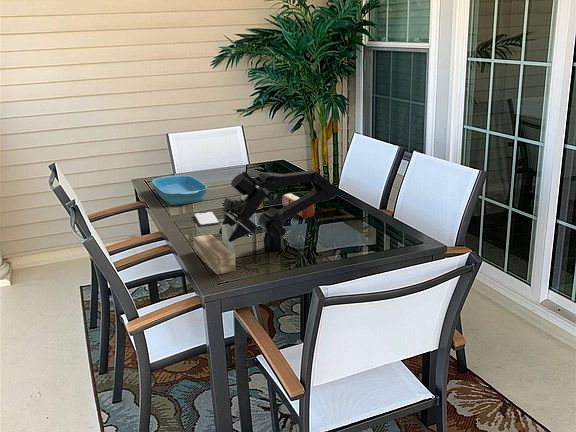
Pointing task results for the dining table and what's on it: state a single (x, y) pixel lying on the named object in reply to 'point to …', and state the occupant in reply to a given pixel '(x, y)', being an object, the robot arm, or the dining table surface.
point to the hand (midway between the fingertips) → (224, 237)
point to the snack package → (290, 198)
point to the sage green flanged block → (227, 237)
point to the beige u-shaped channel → (214, 254)
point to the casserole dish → (180, 189)
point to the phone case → (206, 219)
